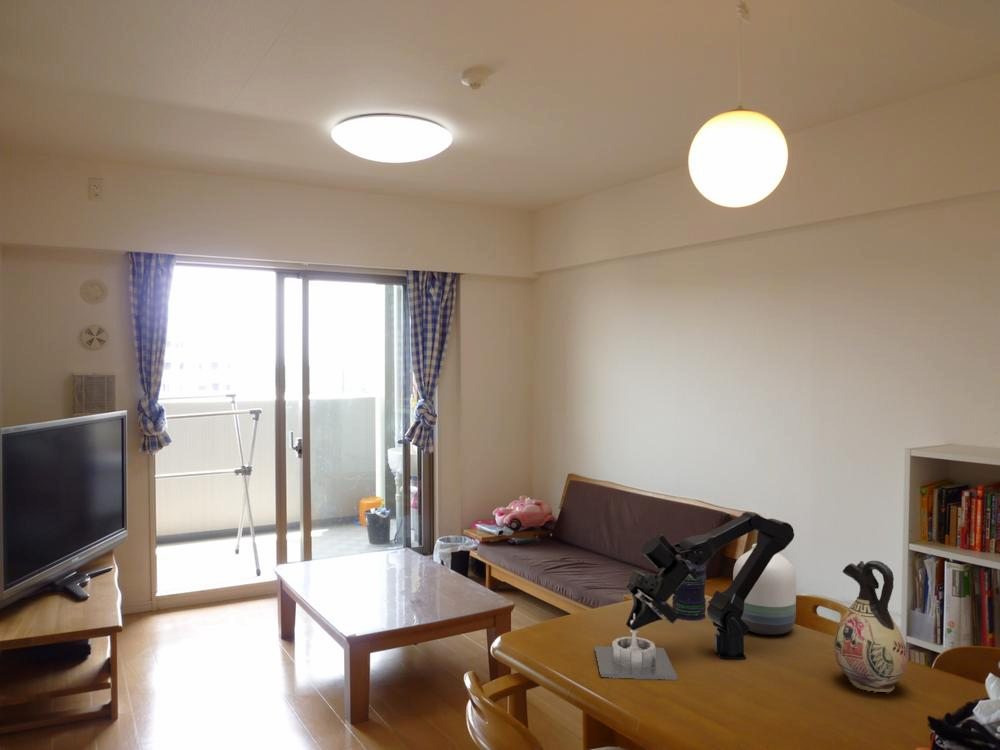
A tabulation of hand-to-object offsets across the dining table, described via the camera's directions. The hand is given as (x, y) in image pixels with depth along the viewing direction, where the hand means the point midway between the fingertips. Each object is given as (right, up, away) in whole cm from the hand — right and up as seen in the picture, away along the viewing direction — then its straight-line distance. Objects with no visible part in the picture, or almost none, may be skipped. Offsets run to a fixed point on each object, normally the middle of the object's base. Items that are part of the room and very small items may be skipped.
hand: (629, 627), depth 179 cm
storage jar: (+25, -10, +38) cm, 47 cm away
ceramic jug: (+55, -10, -12) cm, 57 cm away
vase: (+43, -10, +26) cm, 52 cm away
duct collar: (+1, -9, 0) cm, 9 cm away
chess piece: (+1, -7, 0) cm, 7 cm away
